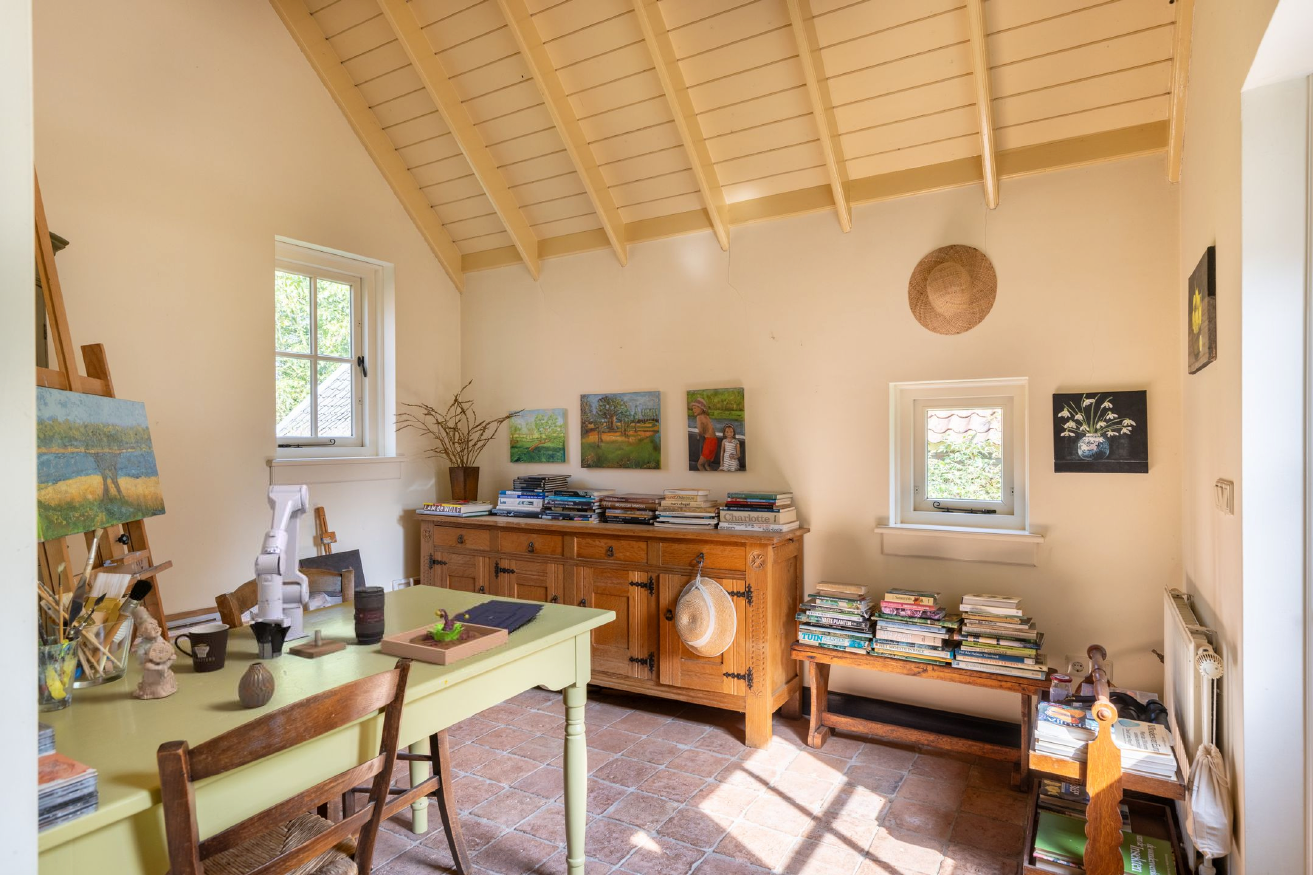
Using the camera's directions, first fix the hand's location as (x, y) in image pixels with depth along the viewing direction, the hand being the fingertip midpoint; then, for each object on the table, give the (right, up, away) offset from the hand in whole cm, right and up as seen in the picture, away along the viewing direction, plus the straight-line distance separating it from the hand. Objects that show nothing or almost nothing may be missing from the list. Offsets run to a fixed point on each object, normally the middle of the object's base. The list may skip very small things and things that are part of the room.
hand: (270, 650), depth 190 cm
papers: (+51, -2, +33) cm, 61 cm away
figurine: (-10, -2, -29) cm, 30 cm away
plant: (+44, -2, +7) cm, 45 cm away
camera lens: (+21, -2, +13) cm, 25 cm away
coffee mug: (-11, -2, -10) cm, 15 cm away
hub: (0, -1, 0) cm, 1 cm away
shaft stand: (+10, -1, +4) cm, 11 cm away
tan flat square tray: (+44, -1, +7) cm, 45 cm away
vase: (+16, -1, -35) cm, 39 cm away
